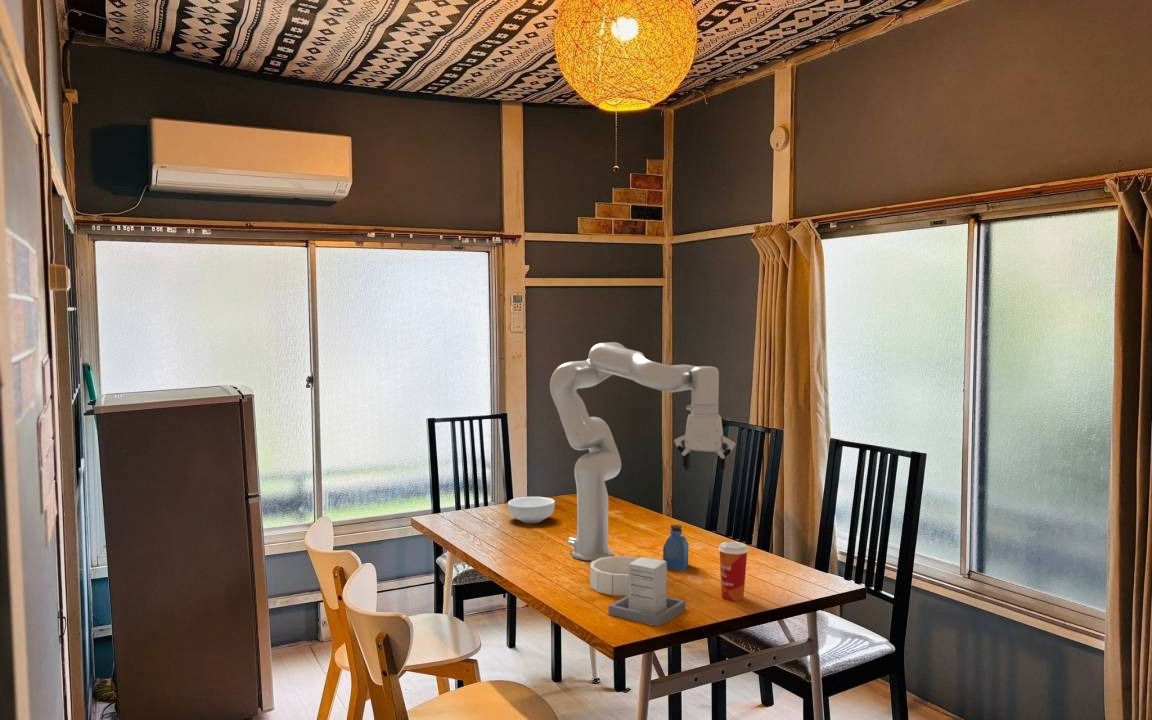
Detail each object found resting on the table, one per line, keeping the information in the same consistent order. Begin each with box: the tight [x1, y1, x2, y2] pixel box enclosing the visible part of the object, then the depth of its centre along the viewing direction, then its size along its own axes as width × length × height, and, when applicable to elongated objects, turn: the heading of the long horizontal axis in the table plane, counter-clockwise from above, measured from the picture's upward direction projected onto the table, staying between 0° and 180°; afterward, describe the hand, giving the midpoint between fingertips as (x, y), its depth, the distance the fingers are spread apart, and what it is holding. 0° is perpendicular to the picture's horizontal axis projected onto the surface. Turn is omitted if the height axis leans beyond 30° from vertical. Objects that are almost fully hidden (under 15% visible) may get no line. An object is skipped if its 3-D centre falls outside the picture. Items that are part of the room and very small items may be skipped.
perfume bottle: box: [662, 524, 689, 571], centre depth 243 cm, size 6×6×12 cm
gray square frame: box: [608, 595, 687, 627], centre depth 205 cm, size 14×14×2 cm
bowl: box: [589, 555, 639, 597], centre depth 226 cm, size 17×17×6 cm
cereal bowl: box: [507, 496, 556, 524], centre depth 297 cm, size 17×17×7 cm
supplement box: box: [628, 556, 668, 615], centre depth 205 cm, size 7×7×13 cm
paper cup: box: [718, 541, 749, 602], centre depth 216 cm, size 8×8×14 cm
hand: (703, 470), depth 234 cm, fingers open, 9 cm apart
